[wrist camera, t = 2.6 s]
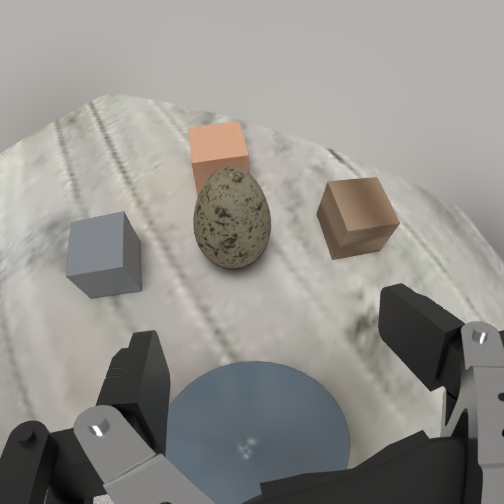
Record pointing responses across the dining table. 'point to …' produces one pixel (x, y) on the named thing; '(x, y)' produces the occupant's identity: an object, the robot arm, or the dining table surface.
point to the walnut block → (356, 217)
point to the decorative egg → (232, 218)
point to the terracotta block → (216, 150)
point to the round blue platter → (254, 429)
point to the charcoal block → (104, 256)
